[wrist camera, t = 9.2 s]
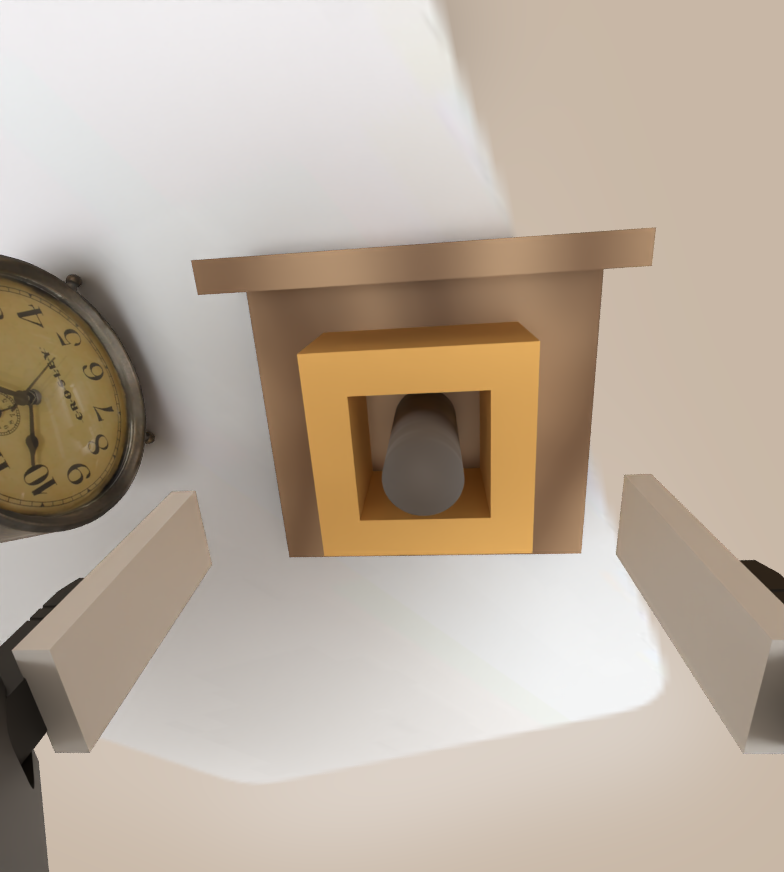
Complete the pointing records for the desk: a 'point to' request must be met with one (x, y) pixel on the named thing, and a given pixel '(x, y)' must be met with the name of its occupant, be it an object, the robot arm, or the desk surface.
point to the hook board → (436, 301)
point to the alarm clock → (62, 406)
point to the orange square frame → (410, 374)
